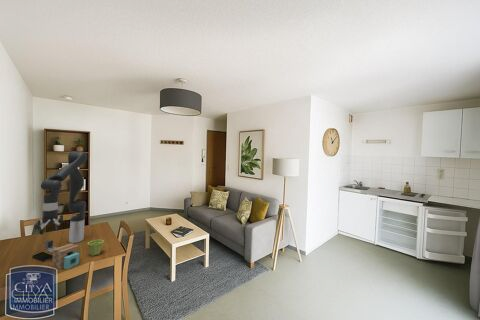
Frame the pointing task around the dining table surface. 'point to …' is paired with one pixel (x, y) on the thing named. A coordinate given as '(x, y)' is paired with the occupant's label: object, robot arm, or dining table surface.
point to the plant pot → (95, 247)
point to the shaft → (50, 246)
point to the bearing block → (63, 254)
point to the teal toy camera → (74, 263)
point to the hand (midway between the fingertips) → (49, 232)
